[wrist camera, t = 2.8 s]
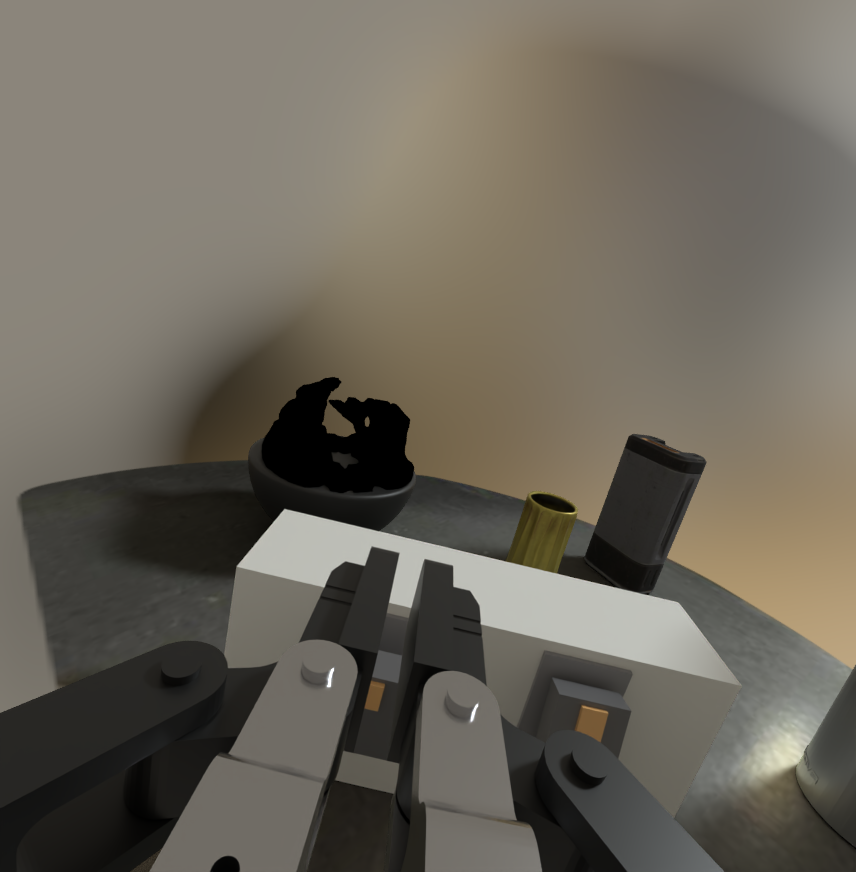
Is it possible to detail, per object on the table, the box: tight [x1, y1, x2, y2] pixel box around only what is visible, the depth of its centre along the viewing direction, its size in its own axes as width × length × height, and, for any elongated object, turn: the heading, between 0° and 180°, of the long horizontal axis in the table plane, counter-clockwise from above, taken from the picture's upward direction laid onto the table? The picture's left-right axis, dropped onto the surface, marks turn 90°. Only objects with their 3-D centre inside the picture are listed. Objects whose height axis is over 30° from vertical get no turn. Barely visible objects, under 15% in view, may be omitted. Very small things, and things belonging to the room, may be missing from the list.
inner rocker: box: [536, 677, 631, 758], centre depth 26 cm, size 2×4×7 cm, turn 87°
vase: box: [506, 491, 578, 574], centre depth 51 cm, size 6×6×14 cm
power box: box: [224, 509, 742, 818], centre depth 33 cm, size 8×30×14 cm, turn 87°
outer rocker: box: [354, 650, 402, 761], centre depth 26 cm, size 2×4×7 cm, turn 87°
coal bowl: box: [248, 377, 416, 531], centre depth 58 cm, size 20×20×19 cm
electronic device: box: [584, 434, 706, 594], centre depth 65 cm, size 9×6×20 cm, turn 27°
